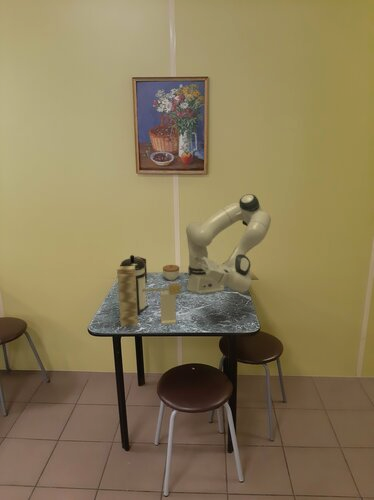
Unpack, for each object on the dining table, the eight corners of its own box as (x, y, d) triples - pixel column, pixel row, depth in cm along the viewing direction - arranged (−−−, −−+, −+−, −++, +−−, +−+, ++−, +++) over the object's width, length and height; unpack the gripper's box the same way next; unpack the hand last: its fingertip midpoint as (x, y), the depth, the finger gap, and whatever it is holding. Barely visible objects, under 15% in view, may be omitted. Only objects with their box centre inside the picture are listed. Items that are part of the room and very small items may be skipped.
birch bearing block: (137, 319, 177) (134, 265, 169) (137, 325, 171) (134, 269, 163) (121, 320, 176) (117, 266, 168) (120, 326, 170) (117, 270, 162)
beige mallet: (179, 290, 174) (179, 282, 173) (180, 293, 170) (180, 286, 169) (142, 292, 172) (141, 284, 171) (142, 295, 168) (141, 288, 167)
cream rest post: (174, 316, 180) (174, 289, 176) (176, 324, 172) (175, 295, 168) (160, 317, 179) (160, 290, 175) (161, 324, 171) (160, 296, 167)
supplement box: (133, 281, 227) (131, 257, 222) (139, 279, 230) (138, 255, 226) (141, 284, 221) (140, 260, 216) (147, 282, 224) (146, 258, 220)
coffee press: (116, 306, 192) (112, 253, 183) (145, 301, 197) (142, 249, 189) (122, 320, 176) (118, 263, 168) (153, 315, 181) (151, 259, 173)
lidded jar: (182, 277, 232) (182, 264, 229) (173, 283, 223) (172, 268, 221) (169, 274, 238) (169, 261, 235) (159, 279, 229) (159, 265, 227)
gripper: (219, 261, 181) (196, 249, 178) (229, 275, 162) (203, 261, 158) (213, 271, 182) (190, 259, 179) (222, 286, 163) (196, 273, 160)
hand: (196, 260), depth 169 cm, fingers open, 8 cm apart
